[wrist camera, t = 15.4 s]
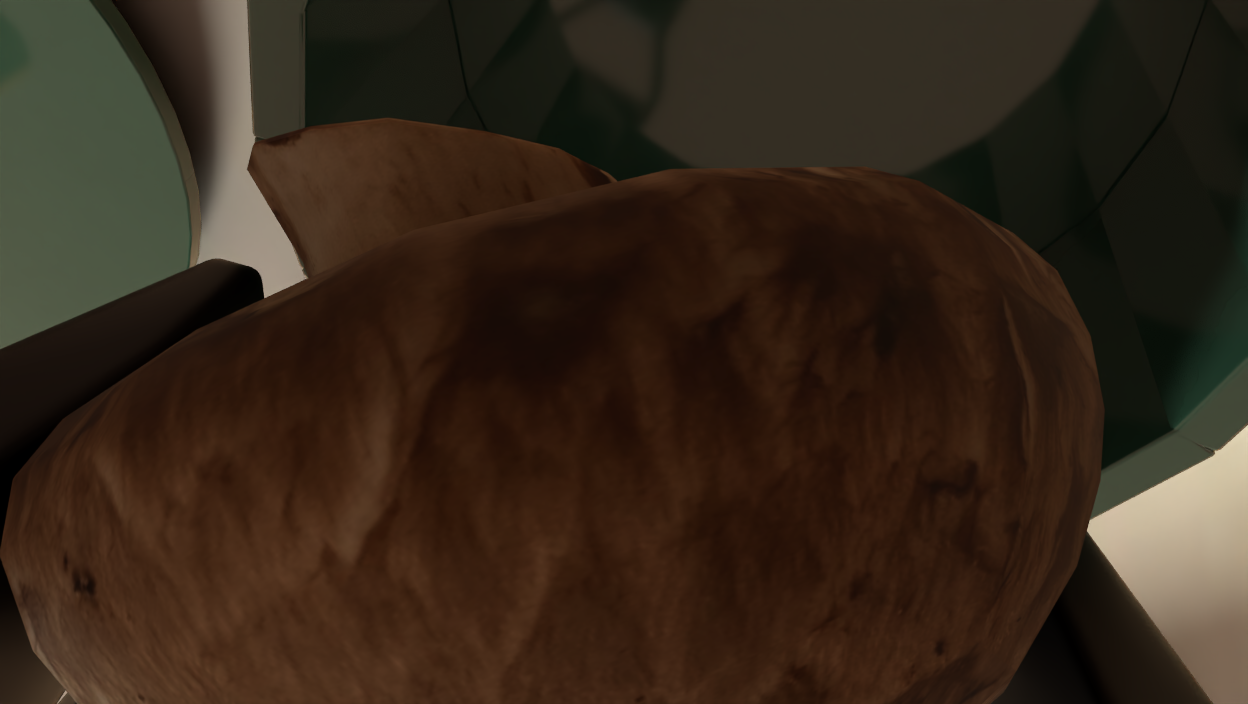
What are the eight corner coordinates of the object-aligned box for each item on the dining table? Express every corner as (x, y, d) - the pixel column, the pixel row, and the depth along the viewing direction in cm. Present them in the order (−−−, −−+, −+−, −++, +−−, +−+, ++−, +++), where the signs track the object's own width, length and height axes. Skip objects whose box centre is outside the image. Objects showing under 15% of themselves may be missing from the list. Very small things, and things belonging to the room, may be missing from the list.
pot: (1111, 366, 20) (1182, 615, 16) (487, 317, 23) (390, 516, 19) (1461, -552, 11) (1907, -611, 6) (325, -447, 14) (40, -432, 9)
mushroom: (-390, 36, 5) (-642, 1482, 3) (901, -478, 5) (1820, 633, 3) (292, 425, 13) (384, 929, 10) (836, 222, 12) (1065, 690, 10)
